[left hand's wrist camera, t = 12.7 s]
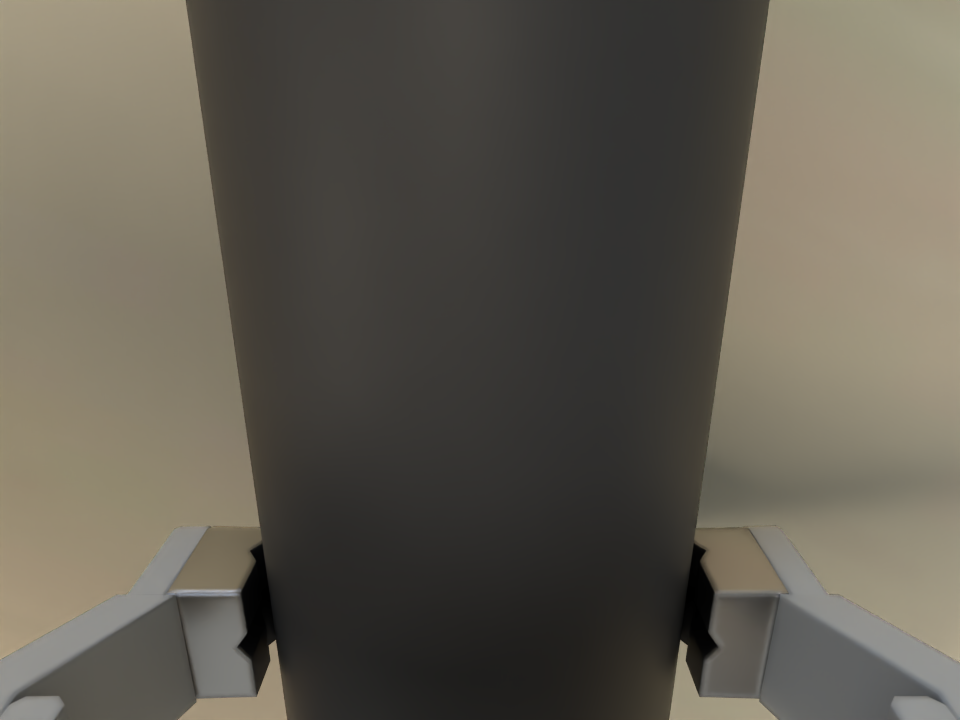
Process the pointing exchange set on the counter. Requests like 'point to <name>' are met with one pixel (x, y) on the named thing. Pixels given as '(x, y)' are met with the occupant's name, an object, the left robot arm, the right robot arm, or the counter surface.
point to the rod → (477, 334)
